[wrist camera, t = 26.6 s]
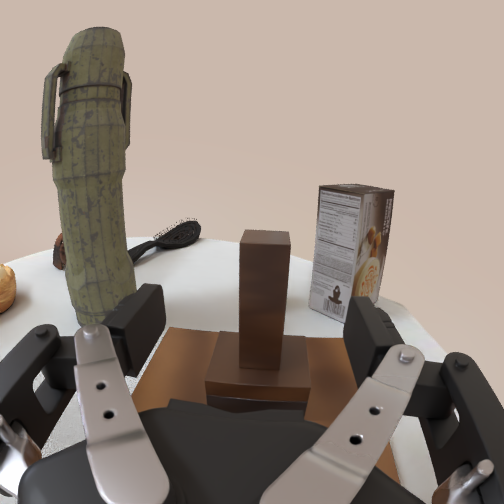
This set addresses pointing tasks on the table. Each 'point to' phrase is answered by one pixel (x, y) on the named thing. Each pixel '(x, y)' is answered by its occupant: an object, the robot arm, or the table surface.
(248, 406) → the wooden post on base
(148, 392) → the cutting board
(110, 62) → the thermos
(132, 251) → the hairbrush
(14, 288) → the pastry
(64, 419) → the table surface
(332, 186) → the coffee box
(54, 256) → the brown looped piece
